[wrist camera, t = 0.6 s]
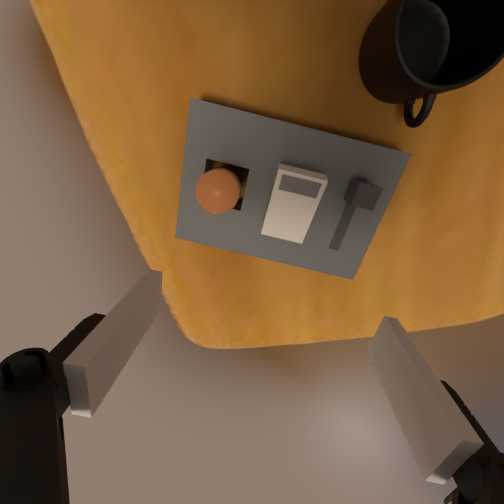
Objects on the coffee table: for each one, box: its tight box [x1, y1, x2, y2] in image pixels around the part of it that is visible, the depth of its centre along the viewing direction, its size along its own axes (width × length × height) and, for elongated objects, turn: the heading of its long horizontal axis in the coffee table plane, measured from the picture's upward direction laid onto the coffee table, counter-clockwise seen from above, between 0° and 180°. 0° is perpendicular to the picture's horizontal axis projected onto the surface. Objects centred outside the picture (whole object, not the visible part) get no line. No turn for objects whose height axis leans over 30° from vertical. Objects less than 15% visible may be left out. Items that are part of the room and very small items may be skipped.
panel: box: [175, 98, 411, 280], centre depth 31 cm, size 16×24×5 cm, turn 77°
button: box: [195, 168, 241, 214], centre depth 28 cm, size 4×4×6 cm
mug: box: [359, 0, 504, 128], centre depth 23 cm, size 9×12×9 cm
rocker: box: [261, 163, 328, 244], centre depth 28 cm, size 8×5×2 cm, turn 168°
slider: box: [344, 179, 383, 211], centre depth 27 cm, size 2×2×3 cm
